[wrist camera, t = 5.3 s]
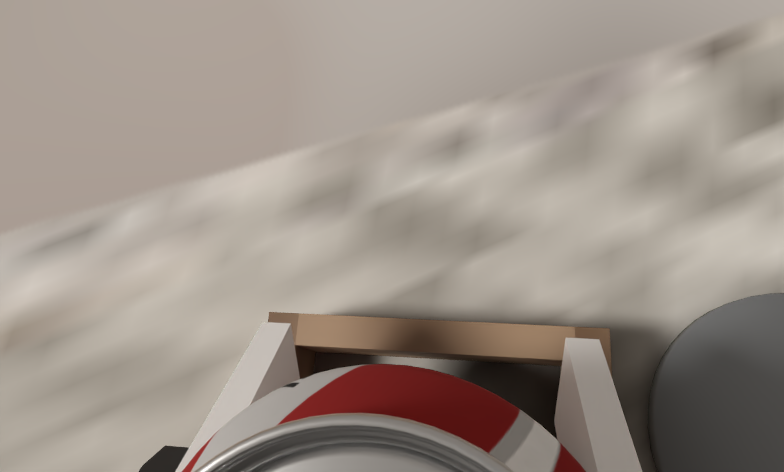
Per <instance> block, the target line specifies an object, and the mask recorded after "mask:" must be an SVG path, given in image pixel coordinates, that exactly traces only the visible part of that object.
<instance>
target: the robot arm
mask: <svg viewBox="0 0 784 472" xmlns="http://www.w3.org/2000/svg"><path fill="white" fill-rule="evenodd" d="M299 379H300V376H299V370H298V364H297V358H296V352H295V346H294V340H293V334H292V328H291V323H272V322H262V324H261V325H260V327H259V329H258V330H257V332H256V334H255V336H254V337H253V339H252V341H251V342H250V344H249V346H248V348H247V349H246V351H245V353H244V354H243V356H242V358H241V360H240V361H239V363H238V365H237V366H236V368H235V370H234V372H233V373H232V375H231V377H230V379H229V380H228V382H227V384H226V385H225V387H224V389H223V391H222V392H221V394H220V396H219V397H218V399H217V401H216V403H215V404H214V406H213V408H212V409H211V411H210V413H209V415H208V416H207V418H206V420H205V421H204V423H203V425H202V427H201V428H200V430H199V432H198V433H197V435H196V437H195V439H194V440H193V442H192V444H191V445H190V447H189V448H185V447H174V446H164V447H163V448H162V449H161V450H160V451H159V452H157V453H156V454H155V455H154V456H153V457H152V458H151V459H150V460H148V461H147V462H146V463H145V464H144V465H143V466H142V467H141V469H140V470H139V472H182V471H183V470H184V468H185V467H186V466H187V465H188V463H189V462H190V461H191V459H192V458H193V457H194V456H195V454H196V453H197V452H198V451H199V450H200V449H201V448H202V447H203V446H204V445H205V443H206V442H207V441H208V440H209V439H210V438H211V437H212V436H213V435H214V434H215V433H216V432H217V431H218V430H220V429H221V428H222V427H223V426H224V425H225V424H226V423H227V422H229V421H230V420H231V419H232V418H233V417H234V416H236V415H237V414H239V413H240V412H241V411H243V410H244V409H245V408H247V407H248V406H250V405H251V404H252V403H254V402H256V401H257V400H259V399H261V398H262V397H264V396H266V395H267V394H269V393H271V392H272V391H274V390H276V389H279V388H281V387H283V386H285V385H287V384H289V383H291V382H293V381H296V380H299ZM554 423H555V429H556V434H557V440H558V441H559V442H560V443H561V444H562V445H563V446H564V447H565V448H566V449H567V450H568V452H569V453H570V454H571V455H572V456H573V457H574V458H575V459H576V460H577V461H578V462H579V464H580V465H581V466H582V467H583V469H584V470H585V471H586V472H642V469H641V466H640V463H639V460H638V457H637V453H636V450H635V447H634V444H633V441H632V438H631V435H630V432H629V429H628V426H627V423H626V420H625V417H624V414H623V411H622V407H621V404H620V401H619V398H618V395H617V392H616V389H615V386H614V383H613V380H612V377H611V374H610V371H609V368H608V365H607V361H606V358H605V355H604V352H603V349H602V346H601V343H600V340H599V339H584V338H566V339H565V346H564V353H563V361H562V368H561V375H560V382H559V390H558V397H557V404H556V411H555V419H554Z"/></svg>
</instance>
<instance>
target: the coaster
mask: <svg viewBox="0 0 784 472" xmlns="http://www.w3.org/2000/svg"><path fill="white" fill-rule="evenodd" d="M648 430H649V438H650V445H651V450H652V454H653V457H654V461H655V465H656V468H657V471H658V472H784V293H780V294H765V295H758V296H751V297H748V298H744V299H741V300H737V301H734V302H731V303H728V304H725V305H723V306H721V307H718V308H716V309H714V310H712V311H709V312H708V313H706V314H704V315H703V316H701V317H700V318H698V319H696V320H695V321H694V322H692V323H691V324H690V325H689V326H688V327H687V328H685V329H684V330H683V331H682V332H681V333H680V334H679V335H678V337H677V338H676V339H675V340H674V341H673V342H672V343H671V345H670V346H669V348H668V350H667V351H666V353H665V354H664V356H663V357H662V359H661V362H660V364H659V366H658V368H657V371H656V373H655V376H654V380H653V383H652V387H651V391H650V398H649V406H648Z"/></svg>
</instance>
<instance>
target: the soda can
mask: <svg viewBox="0 0 784 472" xmlns="http://www.w3.org/2000/svg"><path fill="white" fill-rule="evenodd" d="M182 472H586V471H585V470H584V469H583V467H582V466H581V465H580V464H579V462H578V461H577V460H576V459H575V458H574V457H573V456H572V455H571V454H570V453H569V452H568V450H567V449H566V448H565V447H564V446H563V445H562V444H561V443H560V442H559V441H558V440H557V439H556V438H555V437H553V436H552V435H551V434H550V433H549V432H548V431H547V430H546V429H545V428H544V427H542V426H541V425H540V424H539V423H538V422H536V421H535V420H534V419H532V418H531V417H530V416H528V415H527V414H526V413H524V412H523V411H522V410H520V409H519V408H517V407H516V406H514V405H513V404H511V403H509V402H508V401H506V400H504V399H503V398H501V397H500V396H498V395H496V394H494V393H492V392H490V391H488V390H486V389H484V388H482V387H480V386H478V385H476V384H474V383H471V382H468V381H466V380H463V379H460V378H458V377H455V376H452V375H449V374H445V373H441V372H438V371H434V370H431V369H425V368H419V367H413V366H407V365H392V364H369V365H356V366H349V367H342V368H336V369H332V370H328V371H324V372H320V373H316V374H313V375H310V376H307V377H304V378H302V379H299V380H296V381H293V382H291V383H289V384H287V385H285V386H283V387H281V388H279V389H276V390H274V391H272V392H271V393H269V394H267V395H266V396H264V397H262V398H261V399H259V400H257V401H256V402H254V403H252V404H251V405H250V406H248V407H247V408H245V409H244V410H243V411H241V412H240V413H239V414H237V415H236V416H234V417H233V418H232V419H231V420H230V421H229V422H227V423H226V424H225V425H224V426H223V427H222V428H221V429H220V430H218V431H217V432H216V433H215V434H214V435H213V436H212V437H211V438H210V439H209V440H208V441H207V442H206V443H205V445H204V446H203V447H202V448H201V449H200V450H199V451H198V452H197V453H196V454H195V456H194V457H193V458H192V459H191V461H190V462H189V463H188V465H187V466H186V467H185V468H184V470H183V471H182Z"/></svg>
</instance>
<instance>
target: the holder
mask: <svg viewBox="0 0 784 472" xmlns="http://www.w3.org/2000/svg"><path fill="white" fill-rule="evenodd" d="M268 322H272V323H291V328H292V334H293V340H294V346H295V352H296V358H297V364H298V370H299V376H300V379H302V378H304V377H307V376H310V375H313V373H314V363H315V354H316V352H327V353H344V354H362V355H379V356H396V357H413V358H430V359H448V360H465V361H482V362H499V363H516V364H534V365H551V366H560V367H561V368H562V361H563V353H564V346H565V339H566V338H584V339H599V340H600V343H601V346H602V349H603V352H604V355H605V358H606V361H607V365H608V368H609V371H610V374H611V377H612V365H611V347H610V329H609V328H588V327H567V326H547V325H526V324H505V323H484V322H464V321H443V320H422V319H401V318H381V317H360V316H339V315H318V314H298V313H277V312H269V319H268Z"/></svg>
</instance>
